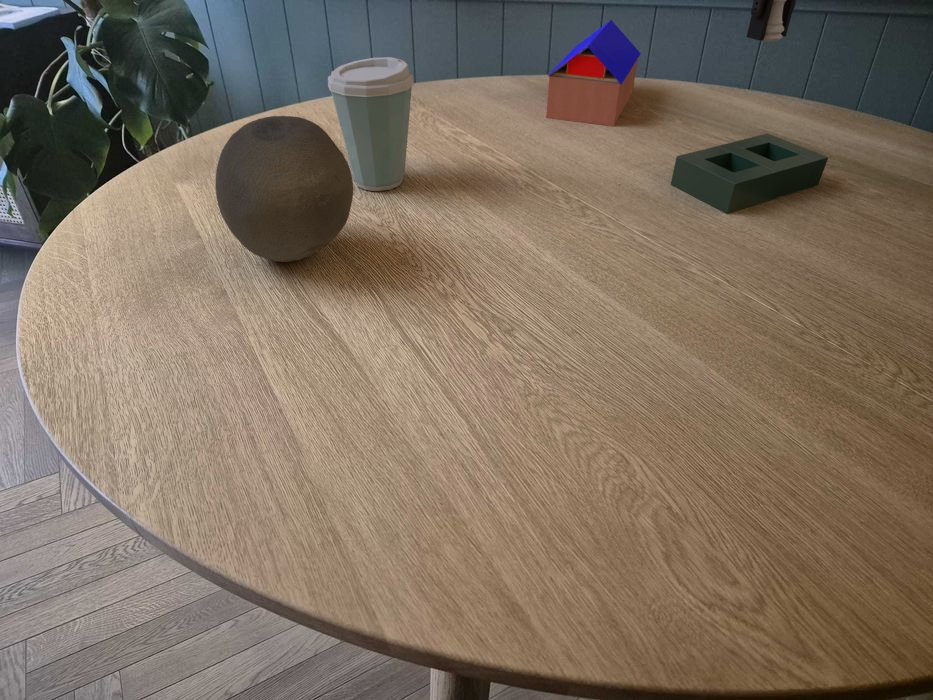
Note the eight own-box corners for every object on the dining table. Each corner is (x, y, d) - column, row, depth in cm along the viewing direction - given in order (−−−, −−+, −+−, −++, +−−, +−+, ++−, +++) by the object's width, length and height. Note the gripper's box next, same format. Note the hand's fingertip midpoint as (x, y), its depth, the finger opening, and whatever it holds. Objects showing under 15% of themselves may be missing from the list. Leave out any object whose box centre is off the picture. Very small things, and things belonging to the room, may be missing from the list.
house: (543, 118, 110) (549, 42, 103) (570, 84, 125) (577, 16, 118) (615, 127, 107) (626, 50, 100) (634, 91, 122) (645, 22, 114)
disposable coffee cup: (357, 205, 84) (345, 82, 74) (326, 175, 91) (311, 60, 82) (431, 187, 88) (428, 69, 79) (396, 160, 95) (389, 49, 86)
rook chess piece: (782, 37, 104) (798, -21, 100) (780, 43, 101) (796, -16, 96) (753, 34, 106) (766, -22, 101) (750, 40, 103) (764, -18, 98)
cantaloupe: (214, 289, 68) (176, 147, 59) (251, 225, 79) (223, 97, 70) (351, 290, 68) (334, 149, 59) (368, 226, 79) (356, 99, 70)
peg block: (759, 160, 96) (767, 133, 94) (818, 185, 89) (828, 157, 87) (670, 184, 89) (676, 155, 87) (726, 213, 82) (735, 183, 80)
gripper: (831, -151, 95) (784, 25, 110) (746, -150, 89) (708, 38, 103) (879, -150, 90) (823, 34, 104) (793, -149, 83) (745, 48, 98)
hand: (766, 36), depth 104 cm, fingers closed on rook chess piece, 4 cm apart
